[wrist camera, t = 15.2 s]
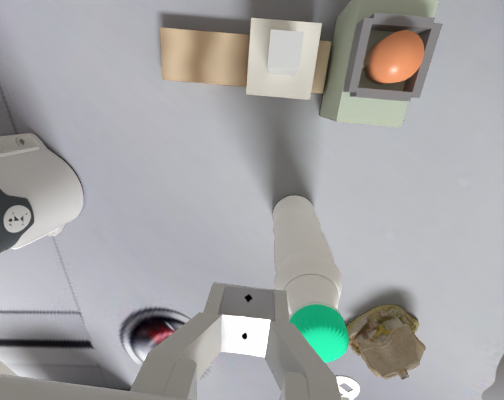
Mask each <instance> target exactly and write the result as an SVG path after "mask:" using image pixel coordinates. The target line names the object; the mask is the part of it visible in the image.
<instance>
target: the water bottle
mask: <svg viewBox="0 0 504 400" xmlns="http://www.w3.org/2000/svg"><path fill="white" fill-rule="evenodd" d="M273 223H274V224H273V232H274V265H275V278H274V285H275V289H276V290H286V292H287V300H288V311H289V313H290V322H289V323H292V324H294V325H295V326H296V328H297V329H298V330H299V331H300V333H301V334H302V335H303V336H304V338H305V339H306V340H307V341H308V343H309V344H310V345H311V346H312V348H313V349H314V350H315V351H316V353H317V354H318V355H319V356H320V358H321V359H322V360H323V361H324V363H326V362H330V361H334V360H337V359H338V358H340V357H341V356H342V355H344V353H345V352H346V350H347V348H348V343H349V337H348V331H347V328H346V325H345V322H344V320H343V318H342V316H341V315H340V313H339V311H338V310H337V307H338V303H339V298H340V295H341V291H342V278H341V274H340V272H339V269H338V268H337V266H336V265H335V263H334V259H333V256H332V253H331V250H330V247H329V245H328V242H327V240H326V237H325V235H324V233H323V231H322V229H321V226H320V222H319V220H318V218H317V216H316V212H315V209H314V207H313V205H312V204H311V202H310V201H309V200H307V199H306V198H304V197H301V196H296V195H293V196H288V197H285V198H283V199H281V200H280V201H279V202H278V203H277V204H276V206H275V208H274V211H273Z"/></svg>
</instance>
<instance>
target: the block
mask: <svg viewBox="0 0 504 400" xmlns="http://www.w3.org/2000/svg"><path fill="white" fill-rule="evenodd" d="M160 42H161V63H162V79H165V80H172V81H183V82H195V83H206V84H217V85H229V86H240V87H247V73H248V58H249V43H250V35H246V34H234V33H221V32H209V31H197V30H185V29H172V28H160ZM331 43H332V41H320V40H319V46H318V52H317V59H316V65H315V71H314V78H313V84H312V90H311V93H319V94H320V93H323V88H324V82H325V77H326V71H327V65H328V60H329V54H330V48H331Z"/></svg>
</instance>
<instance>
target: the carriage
mask: <svg viewBox="0 0 504 400" xmlns="http://www.w3.org/2000/svg"><path fill="white" fill-rule="evenodd" d="M321 27H322V23H312V22H299V21H287V20H274V19H262V18H251V29H250V43H249V58H248V73H247V88H246V94H248V95H258V96H269V97H280V98H292V99H303V100H310V96H311V90H312V84H313V78H314V71H315V65H316V59H317V52H318V46H319V40H320V34H321Z"/></svg>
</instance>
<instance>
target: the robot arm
mask: <svg viewBox="0 0 504 400" xmlns="http://www.w3.org/2000/svg"><path fill="white" fill-rule="evenodd" d="M83 200H84V197H83V190H82V187H81V184H80V182H79V180H78V178H77V176H76V174H75V173H74V171H73V170H72V169H71V168H70V166H69V165H68V164H67V163H66V162H65V161H63V160H62V159H61V158H60V157H58V156H57V155H55V154H54V153H52V152H51V151H50V150H49V149H47V147H46V146H45V145H44V144H43V142H42V141H41V140H40V139H39V138H38V137H37V136H36V135H35V134H33V133H22V134H14V135H5V136H0V254H2V253H3V252H5V251H6V250H7V249H9V248H12V249H18V248H21V247H23V246H25V245H27V244H29V243H31V242H33V241H35V240H37V239H39V238H41V237H43V236H45V235H48V236H56V235H58V234H60V233H61V231H62V230H63V228H64V226H65V225H66V224H67V223H69V222H70V221H72V220H74V219H75V218H76V217H77V216H78V215H79V213H80V212H81V210H82V207H83ZM220 351H221V352H231V353H242V354H249V355H255V356H262V357H265V360H266V362H267V364H268V366H269V368H270V370H271V372H272V374H273V376H274V378H275V380H276V382H277V384H278V386H279V388H280V390H281V395H280V400H341V396H340V392H339V387H338V383H337V379H336V376H335V375H334V374H333V373H332V371H331V370H330V369H329V368H328V366H327V365H326V364H325V363H324V361H323V360H322V359H321V358H320V356H319V355H318V354H317V353H316V351H315V350H314V349H313V348H312V346H311V345H310V344H309V343H308V341H307V340H306V339H305V338H304V336H303V335H302V334H301V333H300V331H299V330H298V329H297V328H296V326H295V325H294V324H292V323H289V311H288V300H287V292H286V290H276V289H274V290H273V289H265V288H255V287H247V286H240V285H233V284H224V283H217V282H214V283H213V284H212V287H211V291H210V294H209V297H208V300H207V303H206V306H205V309H204V313H198V314H197V315H196V316H195V317H193V318H192V319H191V320H189V321H188V322H187V323H186V324H184V325H183V326H182V327H181V328H179V329H178V330H177V331H175V332H174V333H173V334H172V335H170V336H169V337H168V338H167V339H165V340H164V341H163V342H161V343H160V344H159V345H158V346H156V347H155V348H154V349H153V350H151V351H150V352H149V353H148V355H147V357H146V359H145V361H144V363H143V365H142V367H141V369H140V371H139V373H138V375H137V377H136V379H135V381H134V383H133V385H132V387H131V390H130V391H125V390H117V389H110V388H102V387H95V386H87V385H79V384H72V383H64V382H57V381H49V380H41V379H34V378H26V377H19V376H11V375H4V374H0V400H197V381H198V379H199V378H200V377H201V376H202V375H203V373H204V372H205V371H206V370H207V368H208V367H209V366H210V365H211V364H212V362H213V361H214V360H215V359H216V358H217V356H218V355H219V354H220Z"/></svg>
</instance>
